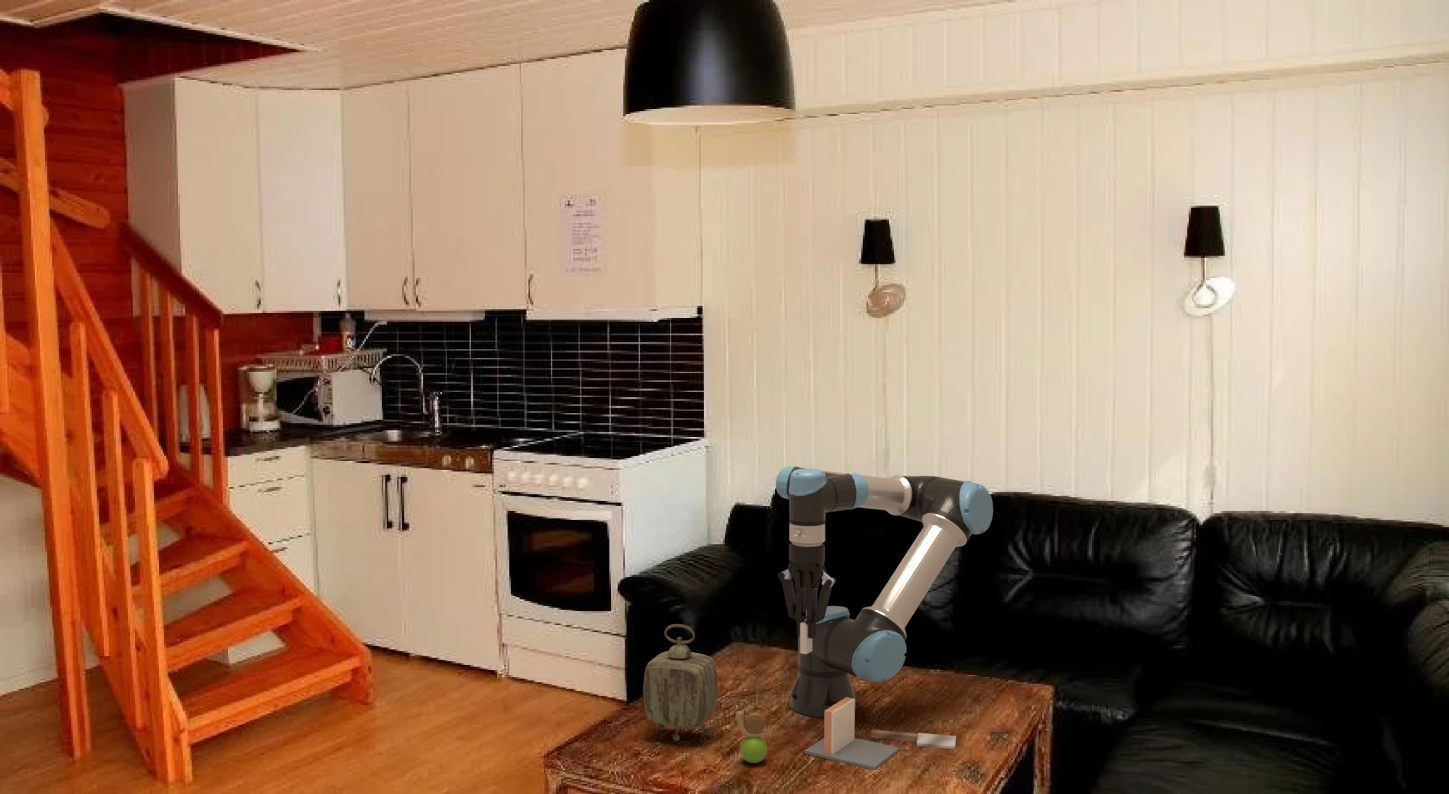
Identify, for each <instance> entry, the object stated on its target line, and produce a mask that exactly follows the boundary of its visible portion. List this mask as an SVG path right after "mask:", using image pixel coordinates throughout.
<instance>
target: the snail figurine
mask: <svg viewBox="0 0 1449 794" xmlns="http://www.w3.org/2000/svg"><path fill="white" fill-rule="evenodd" d="M738 709H739V705H737V704H736V705H735V710H736V711H735V717H736V721H737V725H738V728H739V731H740V732H741V734H742V735H744V736H745V737H746V738H745V739H744V740H742V742H741V745H740V750H739V751H740V754H741V756H742V758H743V760H744V761H746V762H747V763H750V764H757V763H760V762H762V761H763V760H764V759H765V758H766V755H767V752H768V746H767V744H766V741H765V740H764V739H763V738H762V737H763V736H765V734H766V732H767V731H766V730H765V728H766V726H767V720H766V718H765V716H763V714H761V713H760V712H752V713H750V714H748V715H746V717H745V719H744V720H743V715H744V714H743V712H742V711H741V710H738Z"/></svg>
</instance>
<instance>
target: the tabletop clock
mask: <svg viewBox="0 0 1449 794" xmlns="http://www.w3.org/2000/svg"><path fill="white" fill-rule="evenodd" d="M672 628H681V629H685V630H687V631H689V633H690V632H691V635H692V638H690V639H688V640H683V637H681V636H678V637H677V638H676V639H673V638H671V637H669V636H668V634H667V632H668V631H669V630H670V629H672ZM663 633H664V634H663V635H664V637H665V638H666V639H667V640H668V641H669V642H671V643H673V644H674V645H672V646H671V647H670V648H669V650H667V651H662V652H661V653H659V654H658V655H656V656H655V657H654V658H652V659H651V660H650V661H649V662H648V663H647V665H646V667H645V670H644V676H643V687H642V694H643V705H644V711H645V714H646V717H647V719H648V720H650V721H651V722H653V723H655V724H657V728H658V729H657V730H659V731H663V730H665V726H667V727H673V728H674V730H675V733H674V734H673V735H672V741H674V742H675V743H676V742H679V741H680V739H681V736H680V734H679V730H680V729H679V728H684V729H686V728H687V729H693V728H698V727H700V728H701V729H702V730H703V731H702V734H703V735H704V736H705V737H709V736H710V735H711V730H710V729H709V728H706V726H705V725H704V724H705V723H706V722H707V721H708V720H709V718H711V717H712V715H714V712H715V710H716V707H717V702H718V690H719V689H718V688H719V685H718V684H719V683H718V672H717V666H716V663H715V661H714V658H712V657H711V656H708V655H706V654H703V653H702V654H701V653H697V652H692V651H691V649H690V648H689V647H688V646H687V644H690V643H692V642H693V641H694V640H695V637H696V634H695V631H694V630H693V629H692V628H691V627H690V626H689V625H685V624H680V623H674V624H669V625H668V626H667V627H666V628H665V630H664V632H663Z"/></svg>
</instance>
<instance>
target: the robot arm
mask: <svg viewBox="0 0 1449 794" xmlns="http://www.w3.org/2000/svg"><path fill="white" fill-rule="evenodd" d="M775 479H776V480H775V489H776V492H777V493H778V495H779V496H780V497H781V498H783V499H786V500H789V531H788V532H789V533H788V534H789V537H788V538H789V541H790V543H789V547H788V552H789V553H788V559H789V564H788V566H787V569H785V570H784V571H781V572H778V574H777V577H778V579H779V581H780V582H781V584H782V590H783V594H784V599H785V606H786V610H787V614H788V617H789V618H790V619H793V620H795V621H796V635H797V652H798V653H797V670H798V671H797V675H796V678H795V681H794V684H793V687H792V691H791V693H790V696H789V697H790V708H791V709H792V710H793V711H795V712H797V713H798V714H800V715H801V714H802V715H804V716H810V717H817V718H824V711H825V710H827V709H828V708H830V707H831V706H833V705H835V704H836V703H838V702H839V701H841V700H842V699H844V698H846V697H849V698H854V699H855V709H856V708H857V707H856V705H857V704H856V703H857V702H856V700H857V699H856V694H855V691H854V688H853V685H852V682H851V678H850V675H852V676H855V677H857V678H858V679H861V680H865V681H871V682H875V683H880V682H886V681H888V680H890V679H892V678H893V677H895V676H896V675H897V674H898V673H899V671H900V670H901V668H902V667H903V665H904V663H905V660H906V656H905V654H906V653H907V644H906V639H907V633H906V629H905V628H906V626H907V625H908V623H909V621H910V620H911V618H912V616H913V615H914V614H915V612H916V611H917V609H918V607H919V606H920V604H921V603H922V601H923V599H924V597H925V596H926V594H927V593H928V591H929V590H930V588H931V586H932V585H933V584H934V582H935V580H936V579H937V577H938V576H939V574H940V572H941V571H942V569H943V568H944V566H945V564H946V563H947V561H948V560H949V558H950V557H951V555H952V553H953V552H954V550H955V549H956V548H958V547H963V546H965V545H966V543H967V542H968V541H969V539H970V537H971V536H972V535H980V534H983V533H986V531H987V530H988V529H989V527H990V526H991V523H992V520H993V515H994V506H993V505H994V504H993V499H992V495H991V493H990V492H989V490H988V489H987V488H986V487H985V486H984V485H982V484H979V483H976V482H972V481H971V480H965V481H964V480H959V479H953V478H948V477H942V476H941V477H940V476H935V475H900V474H898V475H892V476H890V477H888V478H887V477H878V476H871V475H863V474H862V475H861V474H860V473H849V472H847V473H846V472H839V471H838V472H837V471H829V470H822V469H818V468H817V469H816V468H806V467H805V468H804V467H799V466H796V465H795V466H792V465H791V466H784V468H782V469H781V470H780V471H778V473H777V475H776V478H775ZM856 508H863V509H873V510H882V511H886V512H887V513H888V514H890V515H892V516H901V517H904V518H907V519H911V520H914V521H918V522H921V523H922V525H923V527H922V529H921V531H920V532H919V533H918V535H917V537H916V538H915V540H914V541H913V543H912V544H911V546H910V547H909V549H908V550H907V552H906V554H905V555H904V557H903V558H902V560H901V561H900V562H899V564H898V566H897V567H896V569H895V570H894V572H893V573H892V575H891V577H890V578H889V580H888V582H887V583H886V584H885V586H884V588H883V589H882V590H881V592H880V594H879V595H878V597H877V598H876V600H874V603H873V604H872V605H871V606H865V607H863V608H862V609H861V610H860V612H859V614H858V615H857V616H856V618H855V619H852V618H850V615H851V613H850V611H849V609H848V607H845V606H838V605H831V606H830V605H829V606H828V604H829V600H830V597H831V593H832V588H833V587H834V586H835V584H836V582H837V579H836V577H831V576H830V575H829V574H828V573H827V569H826V567H825V559H826V557H825V556H826V552H825V551H826V545H825V544H824V542H825V541H826V513H831V512H832V513H833V512H837V511H838V512H839V511H845V510H853V509H856ZM793 581H794V582H793ZM820 583H821V585H822V587H821V588H820V592H819V597H818V590H819V584H820ZM849 674H850V675H849Z"/></svg>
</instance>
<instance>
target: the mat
mask: <svg viewBox="0 0 1449 794" xmlns="http://www.w3.org/2000/svg"><path fill="white" fill-rule="evenodd" d="M899 751H900V747H897V746H892V745H889V744H884V743H880V742H875V741H871V740H866V739H862V738H857V737H854V740H853V741H852V742H850V743H849V744H848V745H846V746H845V747H843V748H842V749H841V750H839V751H838V752H836V753H835V754H833V755H830V754H826V753H824V737H823V738H821V739H820V740H818V741H817V742H815V743H814V744H812V745H811V746H809V747H808V748H806V749H805V750H804V754H806V755H811V756H814V757H819V758H823V759H827V760H832V761H835V762H839V763H844V764H848V765H853V766H856V767H861V768H863V769H869V770H873V771H875V770H876V769H877V768H879V767H880V766H881V765H884V763H886V761H889V759H891V758H892V757H893V756H894V755H896V754H897V753H899Z"/></svg>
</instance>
